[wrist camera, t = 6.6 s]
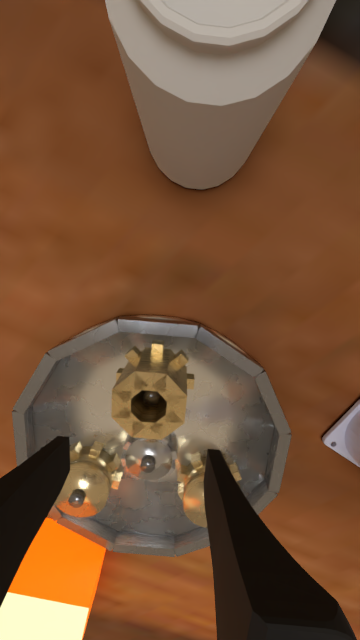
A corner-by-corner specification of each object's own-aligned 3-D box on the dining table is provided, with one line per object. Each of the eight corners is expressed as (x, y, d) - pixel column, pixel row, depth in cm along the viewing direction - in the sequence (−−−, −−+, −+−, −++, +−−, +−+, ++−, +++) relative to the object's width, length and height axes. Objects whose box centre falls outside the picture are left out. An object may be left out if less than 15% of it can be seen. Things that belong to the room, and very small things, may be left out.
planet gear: (197, 343, 20) (201, 366, 15) (190, 411, 21) (191, 450, 17) (120, 336, 20) (101, 358, 15) (118, 405, 21) (100, 443, 17)
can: (273, 118, 17) (471, -208, 5) (212, 213, 18) (260, 126, 7) (185, 48, 16) (186, -524, 4) (129, 154, 18) (19, -63, 6)
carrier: (332, 409, 22) (368, 445, 18) (183, 564, 27) (183, 621, 23) (110, 257, 19) (89, 255, 15) (-11, 459, 24) (-54, 502, 20)
